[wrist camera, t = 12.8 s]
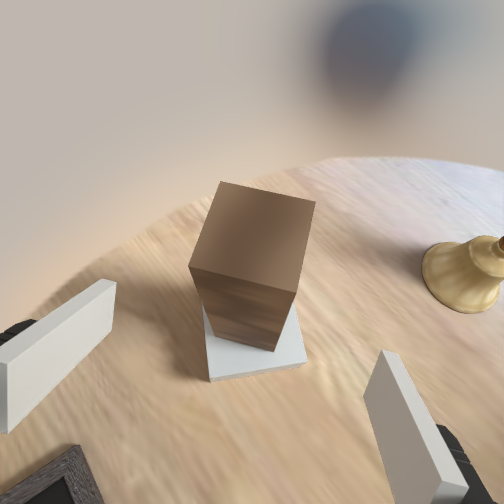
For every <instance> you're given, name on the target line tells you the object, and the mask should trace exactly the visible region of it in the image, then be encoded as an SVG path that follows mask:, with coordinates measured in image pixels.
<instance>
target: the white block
mask: <svg viewBox="0 0 504 504" xmlns="http://www.w3.org/2000/svg"><path fill="white" fill-rule="evenodd" d="M201 303H202V301H201ZM202 312H203V321H204V331H205V340H206V349H207V358H208V368H209V377H210V381H211V383H212V382H218V381H224V380H230V379H236V378H242V377H247V376H253V375H259V374H265V373H271V372H277V371H282V370H288V369H294V368H299V367H300V366H302V365H303V364H305V363H306V362H308V361H307V357H306V352H305V348H304V344H303V339H302V335H301V331H300V326H299V322H298V318H297V313H296V309H295V305H294V301H293V303H292V306H291V308H290V311H289V314H288V316H287V319H286V322H285V324H284V327H283V330H282V332H281V335H280V338H279V340H278V343H277V346H276V348H275V351H274V352H271V351H267V350H263V349H259V348H256V347H252V346H248V345H244V344H241V343H237V342H233V341H230V340H226V339H222V338H218V337H215V336H214V333H213V330H212V328H211V325H210V322H209V320H208V317H207V315H206V312H205V309H204V307H203V304H202Z"/></svg>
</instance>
